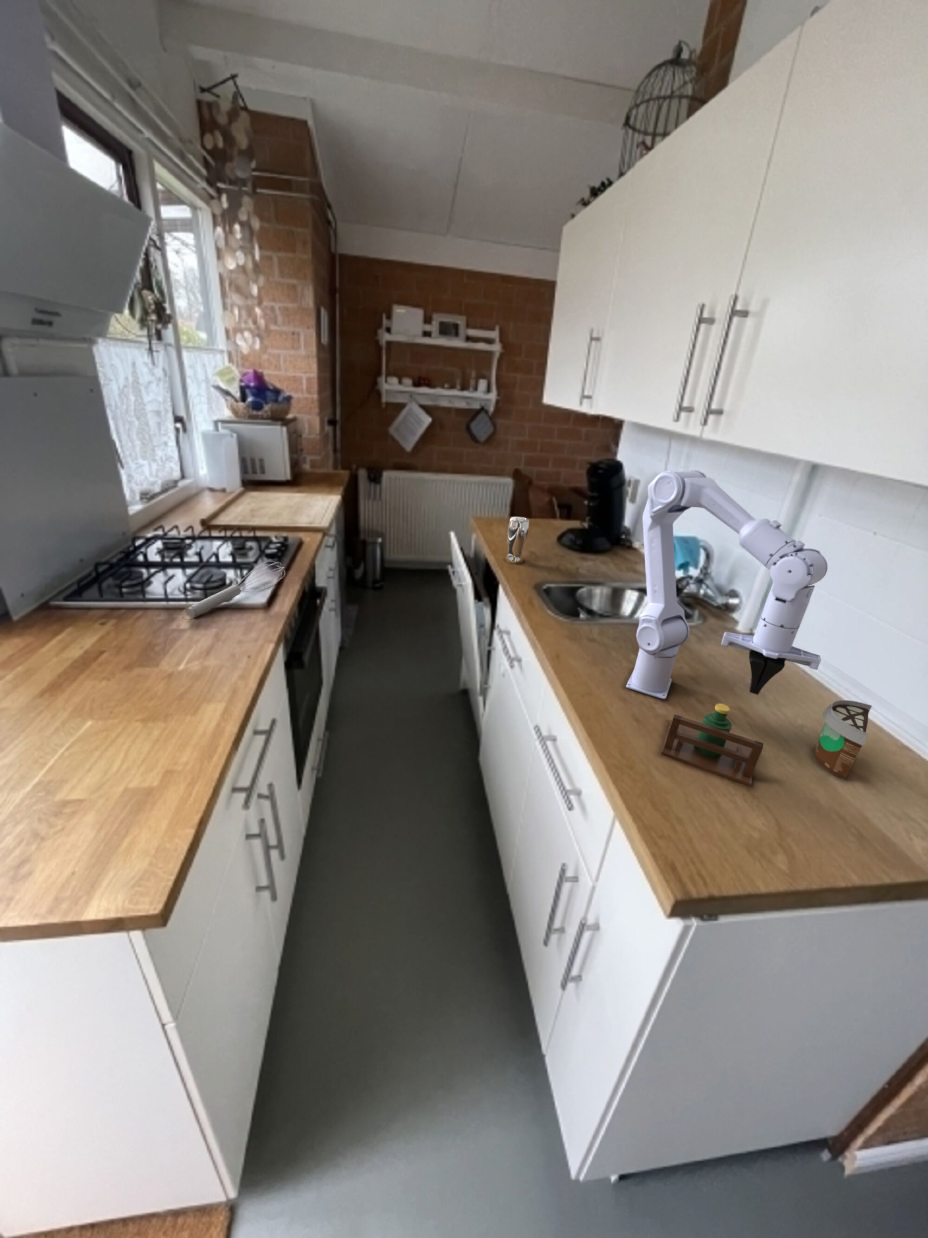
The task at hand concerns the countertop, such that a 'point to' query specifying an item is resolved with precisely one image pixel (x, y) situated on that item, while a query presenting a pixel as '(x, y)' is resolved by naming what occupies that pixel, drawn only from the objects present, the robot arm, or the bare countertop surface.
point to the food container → (842, 736)
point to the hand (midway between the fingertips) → (753, 691)
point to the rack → (734, 755)
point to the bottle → (716, 721)
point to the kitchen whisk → (223, 596)
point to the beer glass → (516, 538)
